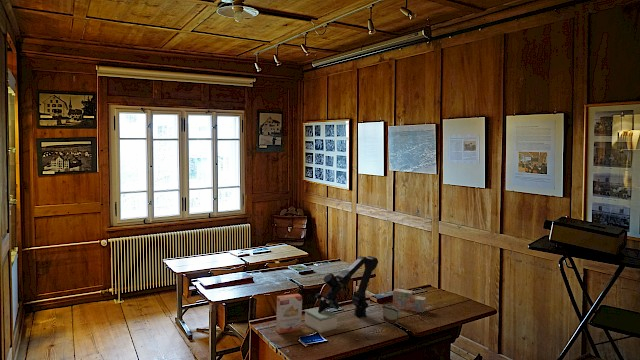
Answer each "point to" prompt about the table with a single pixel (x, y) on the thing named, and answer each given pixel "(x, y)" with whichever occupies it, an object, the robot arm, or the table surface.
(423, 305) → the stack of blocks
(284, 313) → the cracker box
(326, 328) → the chest
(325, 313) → the chest lid
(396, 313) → the food container
